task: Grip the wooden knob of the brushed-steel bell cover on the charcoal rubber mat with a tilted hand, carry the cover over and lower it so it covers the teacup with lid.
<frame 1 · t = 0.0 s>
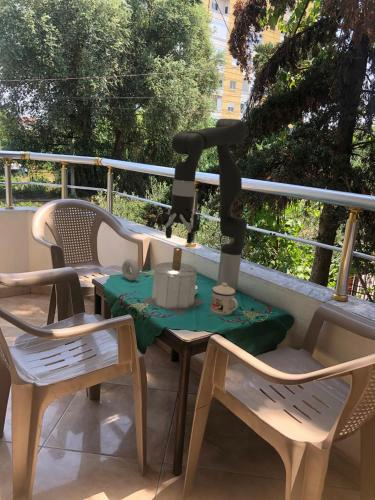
hand: (178, 240, 142), 29 cm above the table, tool pointing down, fingers open, 8 cm apart
mat: (172, 302, 164), on the table
teacup with lid: (223, 313, 159), on the table
donut: (129, 280, 185), on the table
bell cover: (173, 301, 164), point 1 cm above the table, touching mat
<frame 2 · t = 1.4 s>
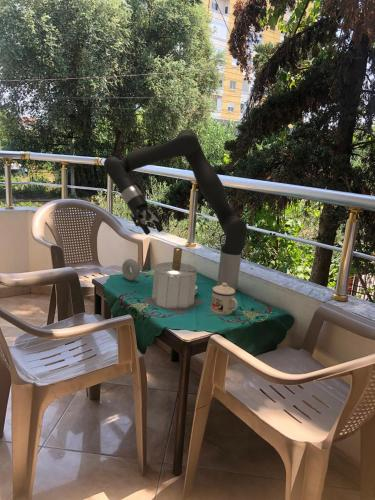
hand: (155, 232, 163), 27 cm above the table, tool tilted 45°, fingers open, 8 cm apart
nothing on the table moved.
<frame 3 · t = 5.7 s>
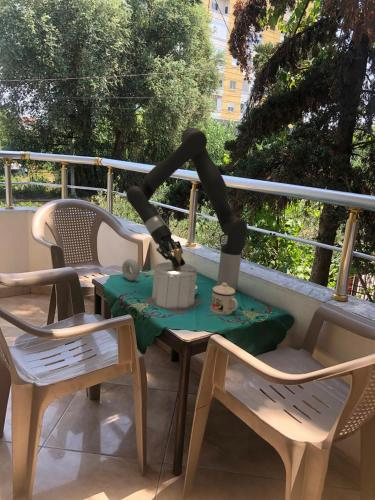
hand: (180, 265, 159), 16 cm above the table, tool tilted 45°, fingers closed on bell cover, 3 cm apart
bell cover: (173, 301, 164), point 1 cm above the table, touching gripper, mat
everything else where it was.
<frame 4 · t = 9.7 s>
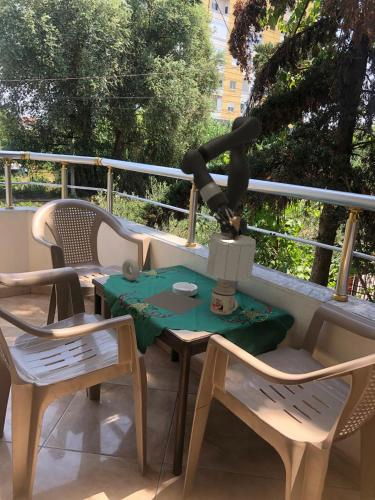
hand: (238, 235, 150), 31 cm above the table, tool tilted 45°, fingers closed on bell cover, 3 cm apart
bell cover: (228, 273, 155), point 16 cm above the table, touching gripper
everything else where it was.
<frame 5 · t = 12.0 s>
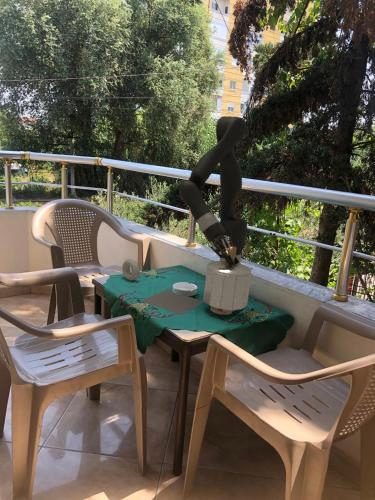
hand: (234, 264, 153), 20 cm above the table, tool tilted 45°, fingers closed on bell cover, 3 cm apart
bell cover: (224, 301, 158), point 5 cm above the table, touching gripper
everything else where it was.
when the fingers open (17 cm above the table, at t = 13.7 s): bell cover drops 2 cm, on the table.
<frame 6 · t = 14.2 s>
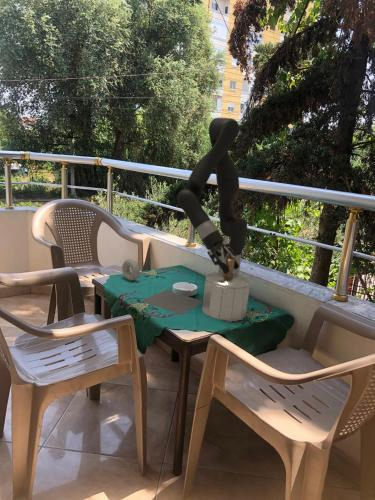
hand: (232, 270, 154), 18 cm above the table, tool tilted 45°, fingers open, 8 cm apart
bell cover: (223, 312, 159), on the table
everything else where it was.
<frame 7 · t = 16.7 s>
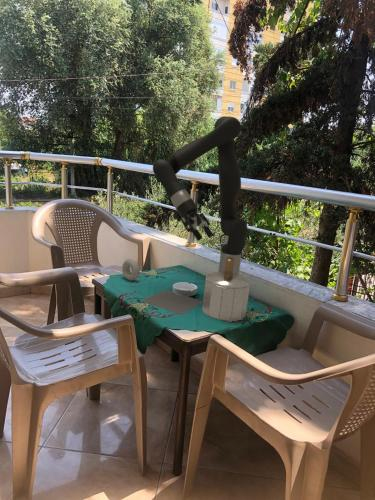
hand: (205, 237, 158), 28 cm above the table, tool tilted 45°, fingers open, 8 cm apart
nothing on the table moved.
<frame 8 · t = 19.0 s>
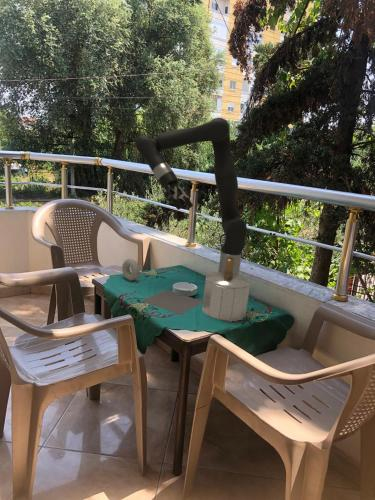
hand: (185, 207, 168), 37 cm above the table, tool tilted 45°, fingers open, 8 cm apart
nothing on the table moved.
at the end: bell cover 0.1 cm from the teacup with lid (horizontally); bell cover on the table; bell cover tilted 0° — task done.
